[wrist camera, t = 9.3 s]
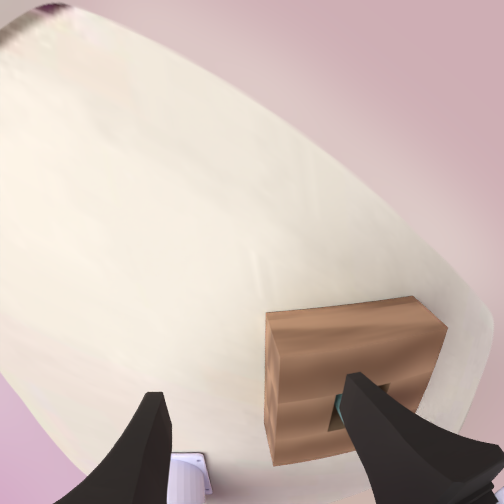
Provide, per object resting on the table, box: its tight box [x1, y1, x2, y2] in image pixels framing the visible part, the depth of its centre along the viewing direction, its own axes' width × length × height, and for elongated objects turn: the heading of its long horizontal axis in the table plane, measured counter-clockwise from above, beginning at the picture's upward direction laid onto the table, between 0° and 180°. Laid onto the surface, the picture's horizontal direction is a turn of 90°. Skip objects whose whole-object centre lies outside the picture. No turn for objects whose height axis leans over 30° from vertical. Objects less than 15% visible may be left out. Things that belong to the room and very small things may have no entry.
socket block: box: [264, 296, 448, 466], centre depth 22 cm, size 12×12×5 cm
